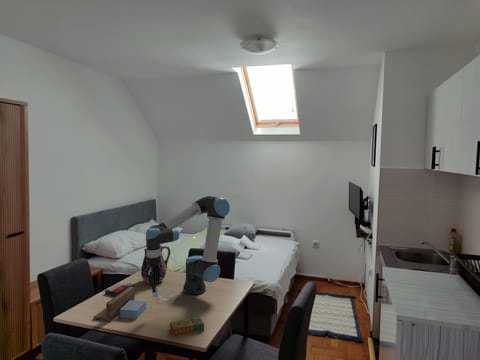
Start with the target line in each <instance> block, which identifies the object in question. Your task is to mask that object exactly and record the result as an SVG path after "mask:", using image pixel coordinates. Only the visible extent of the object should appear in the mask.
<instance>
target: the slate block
mask: <svg viewBox="0 0 480 360" xmlns="http://www.w3.org/2000/svg"><path fill="white" fill-rule="evenodd" d="M146 310H147V301H145V300H144V301H142V300H135V301H132V300H130V301H129V302H128V303H126V304H125V305H124V306H123V307H122V308H121V309H120V315H119V318H121V319H133V320H138V319H139V318H140V317H141V316H142V314H143V313H144V312H145V311H146Z"/></svg>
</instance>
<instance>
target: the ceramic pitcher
mask: <svg viewBox="0 0 480 360" xmlns="http://www.w3.org/2000/svg"><path fill="white" fill-rule="evenodd" d="M164 249H167V256H166V259H164V256H163V250H164ZM146 250H147V248H144V257H143V261H142V264H141V268H140V273H141V274H140V276H141V278H142V279H143V281H144V282H145V283H147V284H149V279H148V275H147V272H149V264H147V257H148V256H147V251H146ZM160 251H161V255H160V256H161V262H160V263H159V265H161V269H160V282H162V281H163V279H165V277H166V274H167V269H168V262H169V259H170V256H171V249H170V247H169V246H167V245H164V246H163V245H160ZM160 282H159V283H160Z"/></svg>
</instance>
